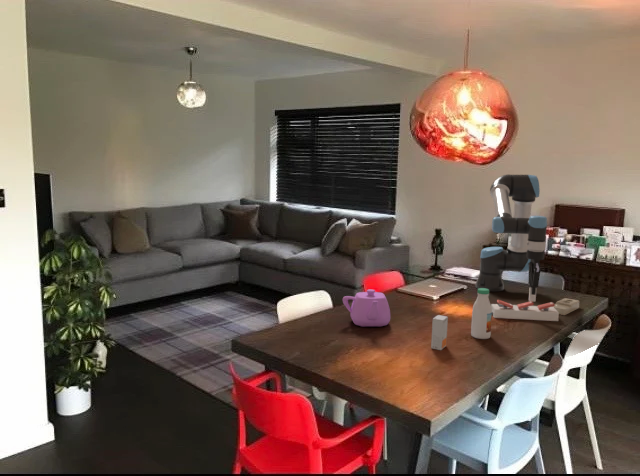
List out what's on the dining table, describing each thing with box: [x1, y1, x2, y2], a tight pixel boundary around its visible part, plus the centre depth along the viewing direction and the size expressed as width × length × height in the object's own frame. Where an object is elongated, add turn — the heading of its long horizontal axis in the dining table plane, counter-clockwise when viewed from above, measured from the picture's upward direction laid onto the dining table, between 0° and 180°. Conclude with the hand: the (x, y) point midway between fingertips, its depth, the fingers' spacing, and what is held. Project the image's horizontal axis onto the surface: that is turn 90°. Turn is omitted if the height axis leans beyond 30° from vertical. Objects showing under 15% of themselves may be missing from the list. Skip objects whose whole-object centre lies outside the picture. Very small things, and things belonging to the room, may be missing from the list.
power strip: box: [490, 303, 560, 322], centre depth 246 cm, size 9×35×5 cm, turn 82°
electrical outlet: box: [553, 297, 580, 316], centre depth 257 cm, size 7×4×18 cm
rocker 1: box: [496, 299, 514, 308], centre depth 244 cm, size 3×7×1 cm, turn 81°
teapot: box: [342, 289, 391, 328], centre depth 229 cm, size 23×21×15 cm
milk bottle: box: [470, 288, 493, 340], centre depth 216 cm, size 8×8×20 cm
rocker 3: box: [536, 301, 555, 310], centre depth 242 cm, size 3×7×1 cm, turn 82°
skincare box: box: [430, 314, 449, 351], centre depth 204 cm, size 6×4×12 cm
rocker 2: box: [516, 301, 535, 309], centre depth 243 cm, size 3×7×1 cm, turn 82°
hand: (532, 300), depth 242 cm, fingers closed
